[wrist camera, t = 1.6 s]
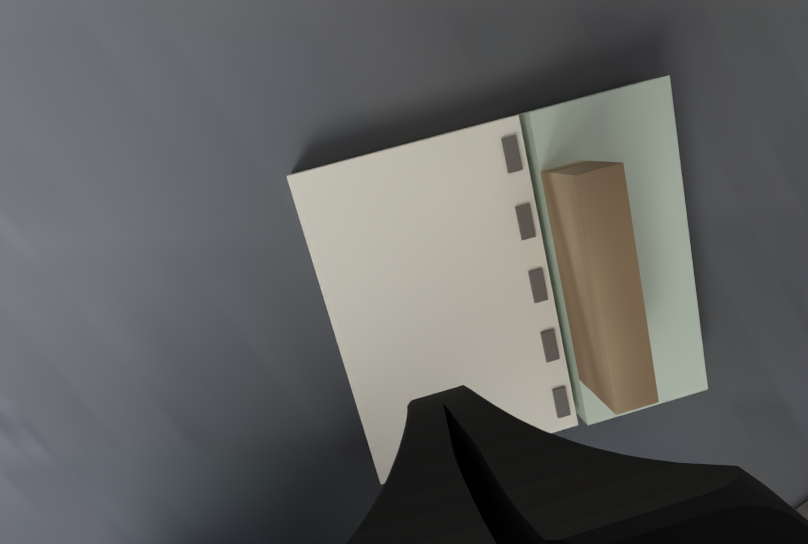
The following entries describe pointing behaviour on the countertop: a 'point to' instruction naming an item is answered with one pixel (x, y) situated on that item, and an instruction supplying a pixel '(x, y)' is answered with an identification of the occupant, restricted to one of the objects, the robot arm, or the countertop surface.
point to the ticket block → (437, 279)
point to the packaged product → (803, 510)
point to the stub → (617, 247)
